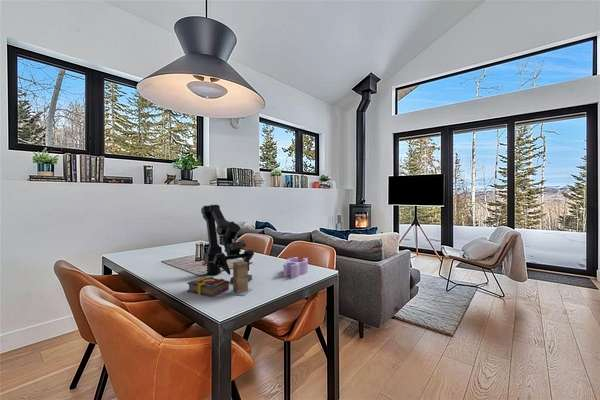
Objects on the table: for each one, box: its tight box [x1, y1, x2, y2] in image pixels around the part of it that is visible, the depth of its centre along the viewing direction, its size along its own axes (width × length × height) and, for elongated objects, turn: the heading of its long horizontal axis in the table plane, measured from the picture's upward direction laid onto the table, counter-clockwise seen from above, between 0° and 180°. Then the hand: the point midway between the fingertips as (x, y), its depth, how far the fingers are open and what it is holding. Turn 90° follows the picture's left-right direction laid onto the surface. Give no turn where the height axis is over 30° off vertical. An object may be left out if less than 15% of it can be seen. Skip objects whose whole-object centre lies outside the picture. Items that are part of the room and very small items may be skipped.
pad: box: [227, 287, 253, 297], centre depth 124 cm, size 8×8×1 cm
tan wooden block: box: [232, 260, 249, 293], centre depth 124 cm, size 5×5×13 cm
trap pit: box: [230, 274, 253, 284], centre depth 140 cm, size 8×8×2 cm
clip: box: [282, 256, 309, 279], centre depth 156 cm, size 20×12×7 cm, turn 158°
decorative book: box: [186, 276, 230, 298], centre depth 126 cm, size 11×16×5 cm
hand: (239, 272), depth 125 cm, fingers open, 9 cm apart
